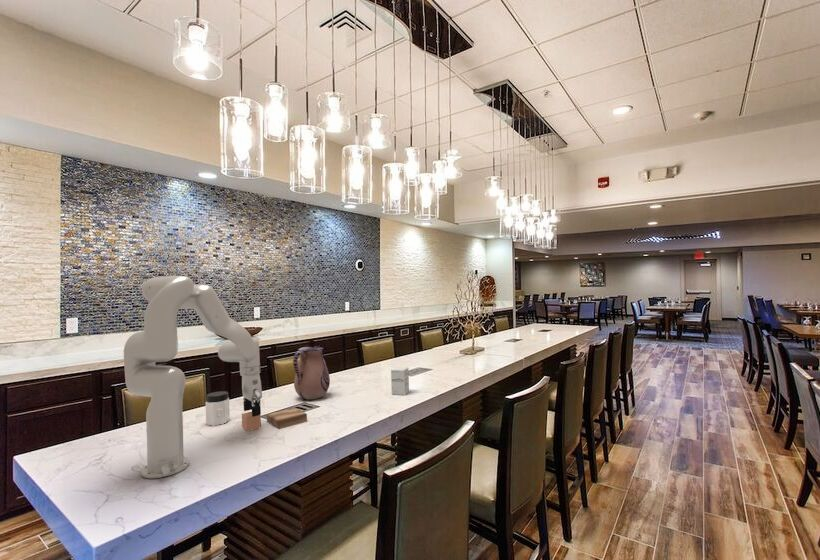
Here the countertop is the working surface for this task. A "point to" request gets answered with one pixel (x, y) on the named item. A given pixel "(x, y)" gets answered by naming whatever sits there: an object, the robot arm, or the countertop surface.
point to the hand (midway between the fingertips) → (252, 412)
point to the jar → (217, 408)
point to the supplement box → (400, 381)
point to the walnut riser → (286, 418)
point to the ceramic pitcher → (310, 373)
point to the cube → (250, 421)
